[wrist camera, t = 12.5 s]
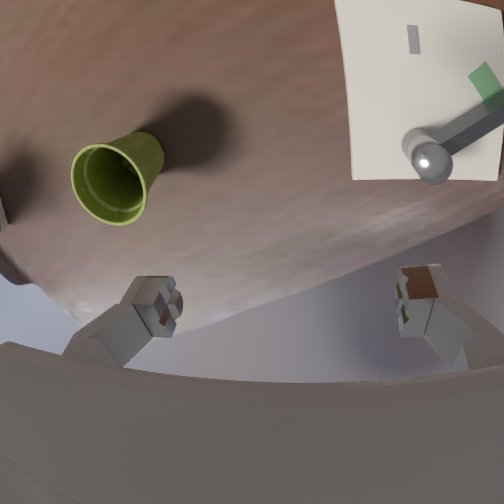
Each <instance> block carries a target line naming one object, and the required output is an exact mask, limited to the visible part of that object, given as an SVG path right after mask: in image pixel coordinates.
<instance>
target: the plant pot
mask: <svg viewBox="0 0 504 504" xmlns="http://www.w3.org/2000/svg"><path fill="white" fill-rule="evenodd" d="M164 160H165V155H164V151H163V150H162V148H161V146H160V144H159V141H158V140H157V139H156V138H155V137H154V136H152V135H150V134H148V133H146V132H134V133H131V134H129V135H126V136H124V137H121V138H119V139H116V140H114V141H112V142H109V143H97V144H92V145H89V146H87V147H85V148H84V149H82V150H81V151H80V152H79V153H78V154H77V156H76V157H75V159H74V161H73V164H72V168H71V180H72V186H73V190H74V192H75V194H76V196H77V199H78V200H79V202H80V203H81V204H82V206H83V207H84V208H85V209H86V210H87V211H88V212H89V213H90V214H91V215H92V216H94V217H95V218H97V219H99V220H100V221H102V222H105V223H107V224H111V225H125V224H130V223H132V222H134V221H135V220H137V219H138V218H139V217H140V216H141V214H142V213H143V211H144V209H145V207H146V203H147V196H148V191H149V189H150V188H151V186H152V184H153V182H154V181H155V179H156V177H157V176H158V174H159V172H160V171H161V169H162V167H163V165H164ZM134 168H135V169H136V171H135V170H134Z"/></svg>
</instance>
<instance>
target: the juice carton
mask: <svg viewBox="0 0 504 504" xmlns="http://www.w3.org/2000/svg"><path fill="white" fill-rule="evenodd" d="M7 226H8V223H7V219H6V216H5V212H4V209H3V205H2V200H1V196H0V234H1V233H2V232H3V231H4V229H5V228H6V227H7Z"/></svg>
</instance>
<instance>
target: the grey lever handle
mask: <svg viewBox="0 0 504 504" xmlns="http://www.w3.org/2000/svg"><path fill="white" fill-rule="evenodd" d="M502 124H504V89H503V90H502V91H500V92H498V93H497V94H495V95H493V96H492V97H490V98H489V99H487V100H485V101H484V102H482V103H480V104H479V105H477V106H476V107H474V108H472V109H471V110H469V111H467V112H466V113H464V114H463V115H461V116H459V117H458V118H456V119H454V120H453V121H451V122H450V123H448V124H446V125H445V126H443V127H441V128H440V129H438V130H437V131H435V132H433V133H432V134H429V133H428V132H427V131H425V130H423V129H419V128H416V129H412V130H410V131H408V132H407V133H406V134H405V135H404V137H403V139H402V143H401V146H402V151H403V153H404V155H405V156H406V157H407V159H408V160H409V162H410V163H411V165H412V166H413V168H414V169H415V171H416V172H417V174H418V175H419V177H420V178H421V179H422V180H423V181H424V182H425V183H427V184H431V185H437V184H441V183H443V182H444V181H446V180H447V179H448V178H449V176H450V175H451V173H452V170H453V160H452V157H451V156H452V155H454V154H456V153H457V152H459V151H460V150H462V149H464V148H465V147H467V146H469V145H470V144H472V143H473V142H475V141H477V140H478V139H480V138H481V137H483V136H485V135H486V134H488V133H489V132H491V131H493V130H494V129H496V128H497V127H499V126H501V125H502Z"/></svg>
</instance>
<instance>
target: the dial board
mask: <svg viewBox="0 0 504 504" xmlns="http://www.w3.org/2000/svg"><path fill="white" fill-rule="evenodd" d="M334 2H335V8H336V14H337V20H338V27H339V33H340V40H341V48H342V55H343V63H344V72H345V81H346V91H347V102H348V114H349V128H350V145H351V166H352V177H353V180H370V179H421V178H420V177H419V175H418V174H417V172H416V171H415V169H414V168H413V166H412V165H411V163H410V162H409V160H408V159H407V157H406V156H405V155H404V153H403V151H402V146H401V143H402V139H403V137H404V135H405V134H406V133H407V132H408V131H410V130H412V129H416V128H419V129H423V130H425V131H427V132H428V133H429V134H432V133H433V132H435V131H437V130H438V129H440V128H441V127H443V126H445V125H446V124H448V123H450V122H451V121H453V120H454V119H456V118H458V117H459V116H461V115H463V114H464V113H466V112H467V111H469V110H471V109H472V108H474V107H476V106H477V105H479V104H480V103H482V102H484V101H485V100H487V99H489V98H490V97H492V96H493V95H495V94H497V93H498V92H500V91H502V90H503V89H504V33H503V22H502V14H501V10H498V9H495V8H491V7H487V6H483V5H479V4H475V3H470V2H466V1H461V0H334ZM503 129H504V124H502V125H501V126H499V127H497V128H496V129H494V130H493V131H491V132H489V133H488V134H486V135H485V136H483V137H481V138H480V139H478V140H477V141H475V142H473V143H472V144H470V145H469V146H467V147H465V148H464V149H462V150H460V151H459V152H457V153H456V154H454V155H452V156H451V157H452V160H453V170H452V173H451V175H450V176H449V178H448V179H459V180H488V181H497V178H498V171H499V164H500V157H501V149H502V140H503Z"/></svg>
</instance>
